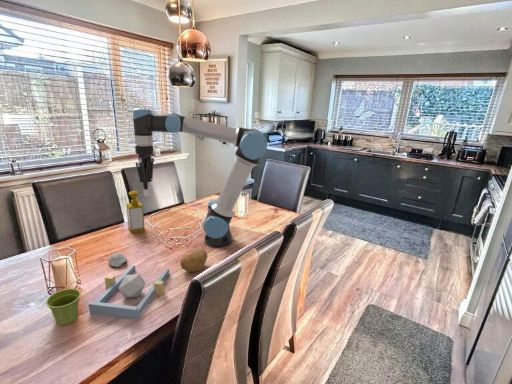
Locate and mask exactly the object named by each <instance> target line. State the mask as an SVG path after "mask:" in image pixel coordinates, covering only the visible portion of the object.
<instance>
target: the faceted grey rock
mask: <svg viewBox="0 0 512 384" xmlns="http://www.w3.org/2000/svg"><path fill="white" fill-rule="evenodd" d="M145 285H146V282H145V280H144V278H143V276H142V275H141V274H140V273H134V274H133V273H132V274H131V275H125V276H124V278H123V280H122V282H121V284H120V287H119V288H118V290H119V292H120V293H121V294H122V296H123V297H124V299H125V298H126V299H127V298H139V297H141V295H142V292H143V290H144V288H145Z"/></svg>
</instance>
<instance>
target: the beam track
mask: <svg viewBox="0 0 512 384" xmlns="http://www.w3.org/2000/svg"><path fill="white" fill-rule="evenodd" d="M135 271H136V265H135V264H131V265H130V266H129V267H128V268H126V270H125V271H124V272H123V273H122V274H121V275H120V276H119V277H118V278H116V275H113V274H112V275H111V274H107V275H106V276H105V277H104V283H105V289H106V290H105V291H104V292H103V293H101V295H100V296H99V297H98V298H97V299H96V300H95V301H93V300H91V301H90V302H89V303H88V309H89V314H91V315H96V316H98V315H99V316H106V317H113V318H122V319H127V320H128V319H130V320H138V319H139V317H140V315H141V314H142V313H143V311H144V310H145V309H146V307H147V305H148V304H149V303H150V302H151V300H152V299H153V298H154V296H155V295H156V296H163V294H164V293H165V283H164V282H165V280H166V279H167V278H168V277H169V275H170V269H169V268H165V269H164V270H163V272H162V273H161V274H160V275H159V277H158V278H157V279H156V280H155V281H154V282H153V285H152V286H151V287H150V289H148V291H147V292H146V294H145V295H144V296H143V297H142V299H141V300H140V301H139V303H138V305H137V306H133V305H125V304H118V303H110V302H107V301H108V300H109V299H110V298H111V297H112V296H113V295H114V294H115V293H116V292H117V290H119V287H120V284H121V282H122V280H123V278H124V276H125V275H133V273H134V272H135Z"/></svg>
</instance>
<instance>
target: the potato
mask: <svg viewBox="0 0 512 384" xmlns="http://www.w3.org/2000/svg"><path fill="white" fill-rule="evenodd" d="M207 259H208V253H207V252H206V250H203V249H198V250H195V251H192V252H189V253H188V254H185V255H184V256H183V257H182V258H180V267H181V269H183V270H184V271H185V272H188V273H193V272H197V271H199V270H202V269H203V268H204V267H205V264H206V262H207Z"/></svg>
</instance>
